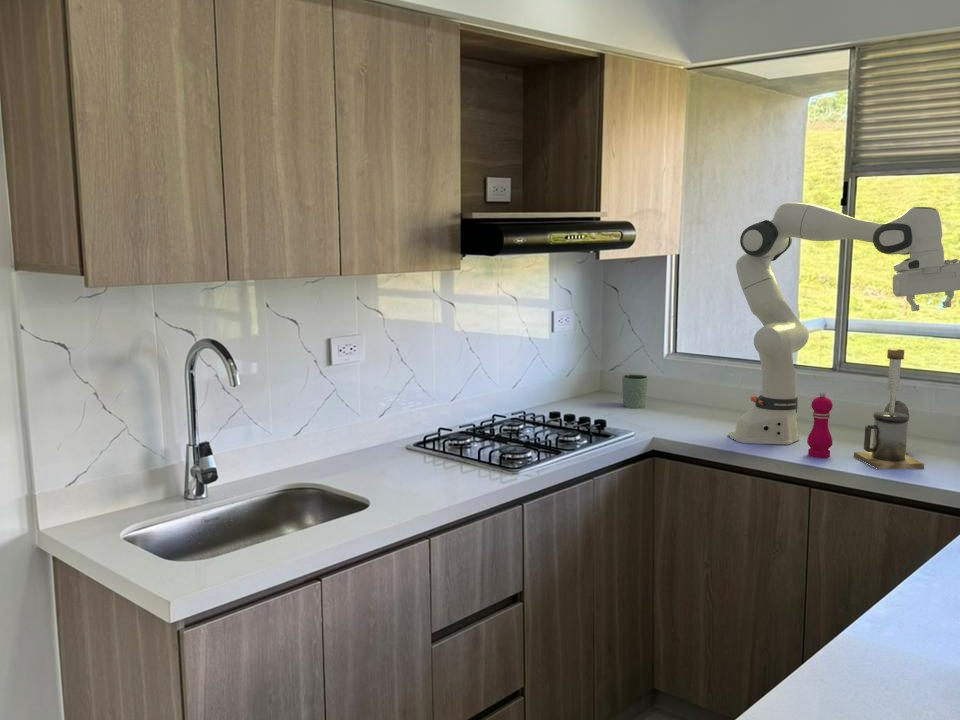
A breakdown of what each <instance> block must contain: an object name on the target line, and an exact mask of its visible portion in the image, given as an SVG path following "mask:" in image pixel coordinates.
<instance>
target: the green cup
mask: <svg viewBox="0 0 960 720" xmlns="http://www.w3.org/2000/svg"><path fill="white" fill-rule="evenodd" d="M621 379H622V381H621V383H622V385H621V386H622V389H621V390H622V407H624V406H625V407H624V408H626V407H630V408H629V409H642V408H643V407H644V408H645V406H646V400H647V399H646V398H647V389H648V382H649V381H648V380H649V377H648V376H647V375H644V374H635V373H634V374H623V375H622V376H621ZM644 408H643V409H644Z"/></svg>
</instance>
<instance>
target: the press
mask: <svg viewBox="0 0 960 720" xmlns="http://www.w3.org/2000/svg"><path fill="white" fill-rule="evenodd" d="M896 393H897V391H890V393H889V403H890V406H889V412H884V411H876V412H874V413H873V415H872V416H873V418H874V419H873V424H867V425H865V426H864V440H863V441H864V443H863V450H864V451H865V452H872V457H873V458H875V459H878V460H883V461H891V462H900V461H904V460H905V455H907V454H906V453H907V452H906V451H907V441H908V440H907V439H908V426H909V421H910V414H909V415H906V414H902V413H897V412H894V408H895V395H896ZM872 430H873V431H872ZM872 432H873V435H872ZM871 437H872V447H871Z"/></svg>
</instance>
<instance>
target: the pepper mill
mask: <svg viewBox="0 0 960 720" xmlns="http://www.w3.org/2000/svg"><path fill="white" fill-rule="evenodd" d="M826 396H827V395H826V392H824V391H820V392H819V396H817V397H814V399H812V400H811V407H810V408H811V409H812V410H813V412H812V417H813V426H812V428H811V430H810V433H809V434H808V435H807V436H808V437H807V441H806V442H807V445H808V446H809V448H808V451H807V455H808V456H809V457H812V458H816V459H829V458H830V456H831V450H830V448H831V447H832V446H833V436H832V435H831V432H830V429H829V419H831V410H832V409H833V406H834V404H833V402H832V401H833V400H831V399H830V398H829V397H826ZM828 457H829V458H828Z"/></svg>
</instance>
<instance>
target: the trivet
mask: <svg viewBox="0 0 960 720" xmlns="http://www.w3.org/2000/svg"><path fill="white" fill-rule="evenodd" d="M855 457H856V459H857V458H858V459H857V460H859V459H860V460H859V461H861V460H862V461H864V462H866V463H868V464H870V465H871V466H870V465H869V466H870V467H872V466H874V467H875V468H874V467H873V468H874V469H876V468H877V469H876V470H914V469H915V470H917V469H918V470H919V469H922V470H924V469H925V463H924V462H922V461H919V460H918V459H915V458H913V457H912V456H909V455H907V454H906V455H905V460H904V461H900V462H891V461H883V460H878V459H875V458H873V457H872V452H867V451H856V452H855V451H854V452H853V458H855ZM862 461H861V462H862ZM864 462H863V463H864ZM866 463H865V464H866ZM868 464H867V465H868Z"/></svg>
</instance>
